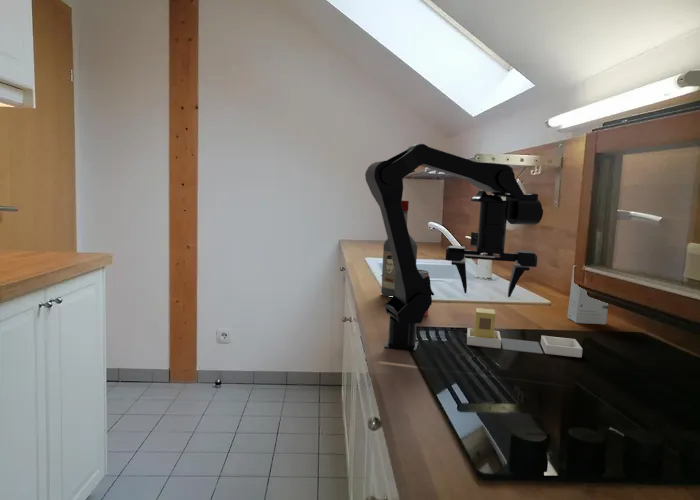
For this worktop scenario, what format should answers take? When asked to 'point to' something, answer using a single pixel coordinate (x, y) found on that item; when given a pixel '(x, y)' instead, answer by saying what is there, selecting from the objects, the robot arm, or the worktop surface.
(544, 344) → the white square tray
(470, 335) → the shallow white dish
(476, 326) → the tan carton
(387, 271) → the liquor
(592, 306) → the skincare box
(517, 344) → the slate coaster
